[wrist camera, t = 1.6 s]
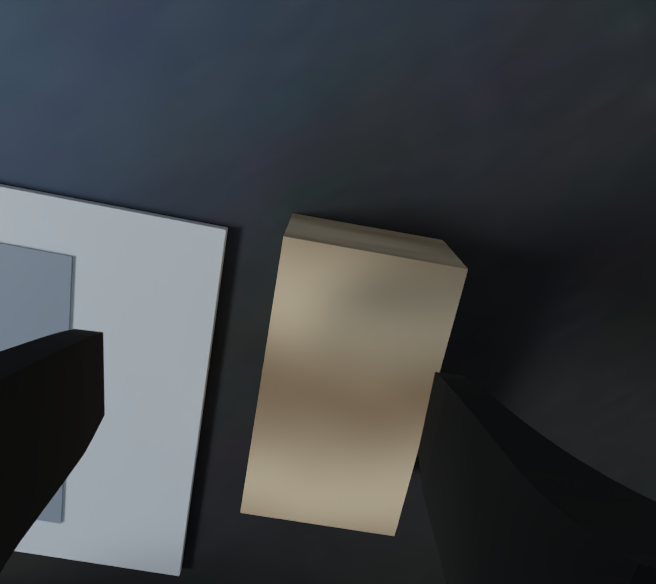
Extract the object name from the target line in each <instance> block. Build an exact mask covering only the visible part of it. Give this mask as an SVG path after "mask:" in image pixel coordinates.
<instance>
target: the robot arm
mask: <svg viewBox="0 0 656 584" xmlns="http://www.w3.org/2000/svg"><path fill="white" fill-rule="evenodd" d="M104 415H105V404H104V346H103V332H96V331H88V330H80V329H72V330H66V331H62V332H58V333H55V334H51V335H48V336H45V337H42V338H39V339H36V340H33V341H30V342H27V343H24V344H21V345H18V346H15V347H12V348H9V349H6V350H3V351H0V572H1V571H2V569H3V567H4V565H5V564H6V562H7V561H8V559H9V558H10V556H11V555H12V553H13V552H14V550H15V549H16V547H17V546H18V544H19V543H20V541H21V540H22V539H23V537H24V536H25V535H26V533H27V532H28V530H29V529H30V528H31V526H32V525H33V524H34V522H35V521H36V520H37V518H38V517H39V515H40V514H41V513H42V511H43V510H44V509H45V507H46V506H47V505H48V503H49V502H50V501H51V499H52V498H53V496H54V495H55V494H56V492H57V491H58V490H59V488H60V487H61V486H62V484H63V483H64V481H65V480H66V479H67V477H68V476H69V475H70V473H71V472H72V470H73V469H74V468H75V466H76V465H77V463H78V462H79V461H80V459H81V458H82V456H83V455H84V453H85V452H86V450H87V448H88V446H89V444H90V443H91V441H92V439H93V437H94V435H95V433H96V431H97V429H98V427H99V425H100V423H101V421H102V419H103V417H104ZM418 455H419V465H420V474H421V482H422V490H423V495H424V499H425V503H426V507H427V511H428V515H429V518H430V522H431V526H432V530H433V534H434V537H435V541H436V545H437V549H438V553H439V556H440V560H441V564H442V568H443V571H444V575H445V579H446V583H447V584H656V502H655V501H653V500H651V499H649V498H647V497H645V496H643V495H641V494H639V493H637V492H635V491H633V490H631V489H629V488H627V487H625V486H623V485H622V484H620V483H618V482H616V481H614V480H612V479H610V478H609V477H607V476H605V475H604V474H602V473H600V472H598V471H597V470H595V469H593V468H592V467H590V466H588V465H587V464H585V463H583V462H582V461H580V460H578V459H577V458H575V457H573V456H572V455H570V454H569V453H567V452H566V451H564V450H563V449H561V448H560V447H558V446H557V445H555V444H554V443H553V442H551V441H550V440H548V439H547V438H545V437H544V436H543V435H541V434H540V433H538V432H537V431H536V430H534V429H533V428H532V427H530V426H529V425H527V424H526V423H525V422H524V421H522V420H521V419H520V418H518V417H517V416H516V415H514V414H513V413H512V412H511V411H509V410H508V409H507V408H506V407H504V406H503V405H502V404H501V403H499V402H498V401H497V400H496V399H494V398H493V397H492V396H491V395H489V394H488V393H487V392H486V391H484V390H483V389H482V388H480V387H479V386H478V385H477V384H475V383H474V382H472V381H471V380H470V379H468V378H467V377H465V376H463V375H456V374H448V373H440V372H435V375H434V379H433V384H432V389H431V393H430V398H429V403H428V407H427V412H426V417H425V421H424V426H423V431H422V435H421V440H420V445H419V449H418Z"/></svg>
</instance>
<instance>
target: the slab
mask: <svg viewBox="0 0 656 584" xmlns="http://www.w3.org/2000/svg"><path fill="white" fill-rule="evenodd" d="M467 272H468V268H467V267H466V266H465V265H464V264H463V263H462V262H461V260H460V259H459V258H458V257H457V256H456V255H455V253H454V252H453V251H452V250H451V249H450V248H449V247H448V245H447V244H446V243H445V242H444V241H443V240H439V239H434V238H428V237H422V236H417V235H411V234H406V233H400V232H395V231H389V230H383V229H378V228H372V227H367V226H361V225H356V224H350V223H344V222H339V221H333V220H328V219H322V218H317V217H311V216H306V215H300V214H294V213H293V214H292V216H291V219H290V221H289V224H288V226H287V229H286V231H285V234H284V236H283V243H282V249H281V256H280V262H279V268H278V275H277V281H276V288H275V294H274V300H273V307H272V313H271V320H270V326H269V332H268V339H267V345H266V352H265V358H264V364H263V371H262V377H261V384H260V390H259V396H258V403H257V409H256V416H255V422H254V428H253V435H252V441H251V448H250V454H249V460H248V467H247V473H246V480H245V486H244V493H243V499H242V505H241V512H240V513H245V514H252V515H258V516H265V517H272V518H278V519H285V520H291V521H298V522H305V523H311V524H318V525H324V526H331V527H338V528H344V529H351V530H357V531H364V532H371V533H377V534H384V535H390V536H395V532H396V528H397V525H398V521H399V518H400V514H401V510H402V507H403V503H404V499H405V496H406V492H407V489H408V485H409V481H410V478H411V474H412V471H413V467H414V463H415V460H416V456H417V452H418V449H419V445H420V440H421V435H422V431H423V426H424V421H425V417H426V412H427V407H428V403H429V398H430V393H431V389H432V384H433V379H434V375H435V372H440V369H441V366H442V362H443V358H444V355H445V351H446V348H447V344H448V340H449V337H450V333H451V329H452V326H453V322H454V319H455V315H456V311H457V308H458V304H459V301H460V297H461V293H462V290H463V286H464V282H465V279H466V275H467Z"/></svg>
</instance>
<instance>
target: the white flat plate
mask: <svg viewBox="0 0 656 584" xmlns="http://www.w3.org/2000/svg"><path fill="white" fill-rule="evenodd" d="M227 232H228V227H223V226H218V225H212V224H207V223H202V222H197V221H192V220H186V219H181V218H176V217H171V216H165V215H160V214H155V213H150V212H144V211H139V210H134V209H129V208H124V207H118V206H113V205H108V204H103V203H97V202H92V201H87V200H82V199H77V198H71V197H66V196H61V195H56V194H50V193H45V192H40V191H35V190H30V189H24V188H19V187H14V186H9V185H3V184H0V351H3V350H6V349H9V348H12V347H15V346H18V345H21V344H24V343H27V342H30V341H33V340H36V339H39V338H42V337H45V336H48V335H51V334H55V333H58V332H62V331H66V330H72V329H80V330H88V331H96V332H103V346H104V404H105V415H104V417H103V419H102V421H101V423H100V425H99V427H98V429H97V431H96V433H95V435H94V437H93V439H92V441H91V443H90V444H89V446H88V448H87V450H86V452H85V453H84V455H83V456H82V458H81V459H80V461H79V462H78V463H77V465H76V466H75V468H74V469H73V470H72V472H71V473H70V475H69V476H68V477H67V479H66V480H65V481H64V483H63V484H62V486H61V487H60V488H59V490H58V491H57V492H56V494H55V495H54V496H53V498H52V499H51V501H50V502H49V503H48V505H47V506H46V507H45V509H44V510H43V511H42V513H41V514H40V515H39V517H38V518H37V520H36V521H35V522H34V524H33V525H32V526H31V528H30V529H29V530H28V532H27V533H26V535H25V536H24V537H23V539H22V540H21V541H20V543H19V544H18V546H17V547H16V549H15V550H14V551H18V552H25V553H31V554H38V555H44V556H51V557H57V558H64V559H71V560H77V561H84V562H90V563H97V564H103V565H110V566H116V567H123V568H129V569H136V570H142V571H149V572H156V573H162V574H169V575H175V576H179V575H180V572H181V569H182V562H183V555H184V547H185V540H186V533H187V525H188V518H189V511H190V503H191V496H192V489H193V481H194V474H195V467H196V459H197V452H198V445H199V437H200V430H201V423H202V415H203V408H204V401H205V393H206V386H207V379H208V371H209V364H210V357H211V349H212V342H213V335H214V327H215V320H216V313H217V305H218V298H219V291H220V283H221V276H222V269H223V261H224V254H225V247H226V239H227Z"/></svg>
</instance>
